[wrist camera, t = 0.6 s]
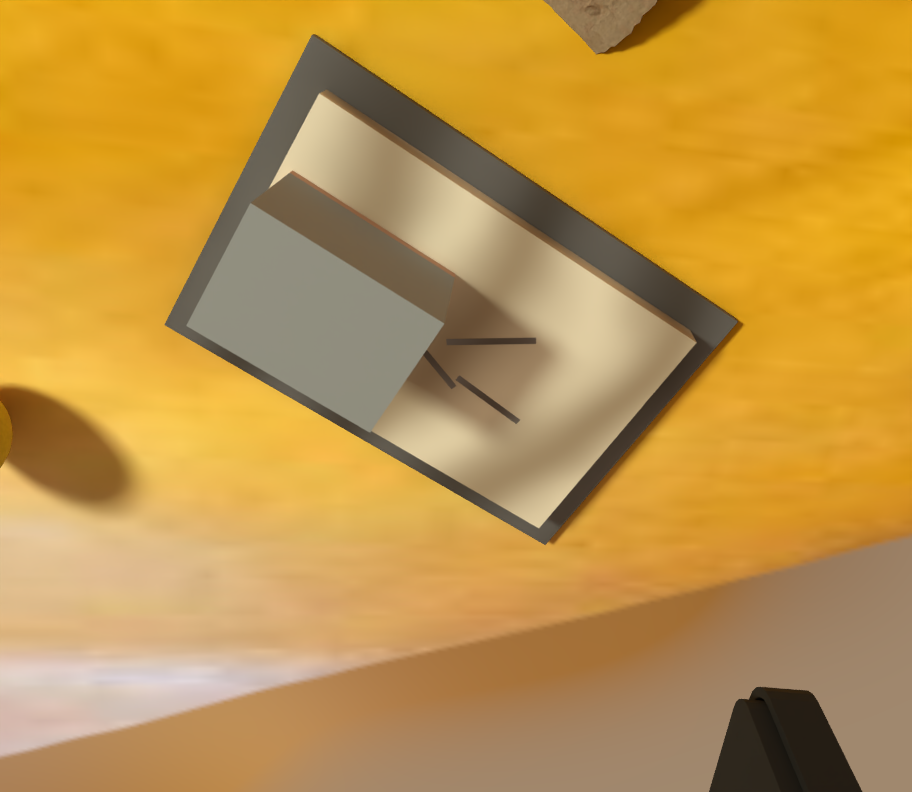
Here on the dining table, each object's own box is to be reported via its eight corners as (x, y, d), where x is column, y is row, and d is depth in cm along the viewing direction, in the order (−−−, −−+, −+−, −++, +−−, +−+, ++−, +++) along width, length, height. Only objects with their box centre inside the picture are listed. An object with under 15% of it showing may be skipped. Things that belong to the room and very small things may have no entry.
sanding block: (235, 276, 36) (186, 325, 31) (292, 170, 34) (250, 202, 29) (391, 370, 38) (370, 432, 32) (455, 274, 36) (444, 323, 30)
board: (168, 321, 40) (151, 336, 38) (314, 34, 34) (303, 36, 32) (544, 539, 44) (546, 562, 42) (735, 317, 38) (746, 334, 36)
